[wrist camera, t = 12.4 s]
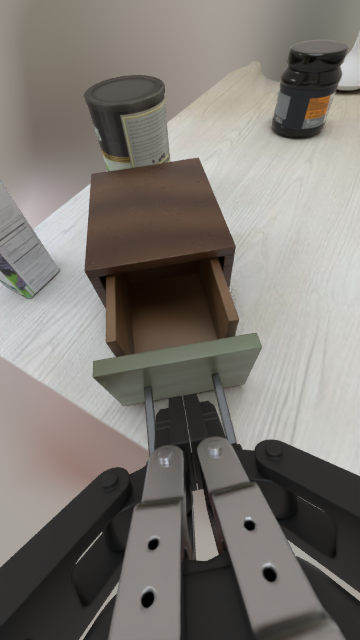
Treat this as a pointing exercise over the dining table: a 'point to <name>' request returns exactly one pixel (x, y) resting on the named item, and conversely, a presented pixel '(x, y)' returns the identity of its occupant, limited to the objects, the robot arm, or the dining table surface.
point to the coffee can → (130, 121)
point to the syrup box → (21, 251)
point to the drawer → (173, 338)
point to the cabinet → (153, 221)
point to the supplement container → (308, 87)
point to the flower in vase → (351, 69)
